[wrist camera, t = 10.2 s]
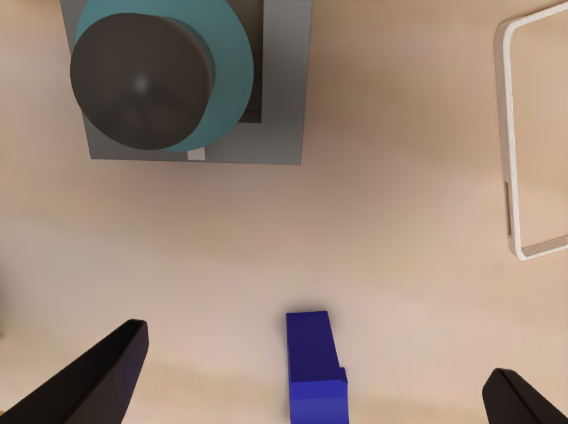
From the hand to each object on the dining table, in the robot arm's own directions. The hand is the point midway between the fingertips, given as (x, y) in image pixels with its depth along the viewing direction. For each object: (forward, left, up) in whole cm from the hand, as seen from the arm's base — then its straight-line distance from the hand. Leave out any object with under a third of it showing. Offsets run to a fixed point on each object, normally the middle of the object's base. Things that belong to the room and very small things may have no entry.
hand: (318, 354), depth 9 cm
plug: (-5, +7, -13) cm, 16 cm away
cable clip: (+3, -17, -14) cm, 22 cm away
